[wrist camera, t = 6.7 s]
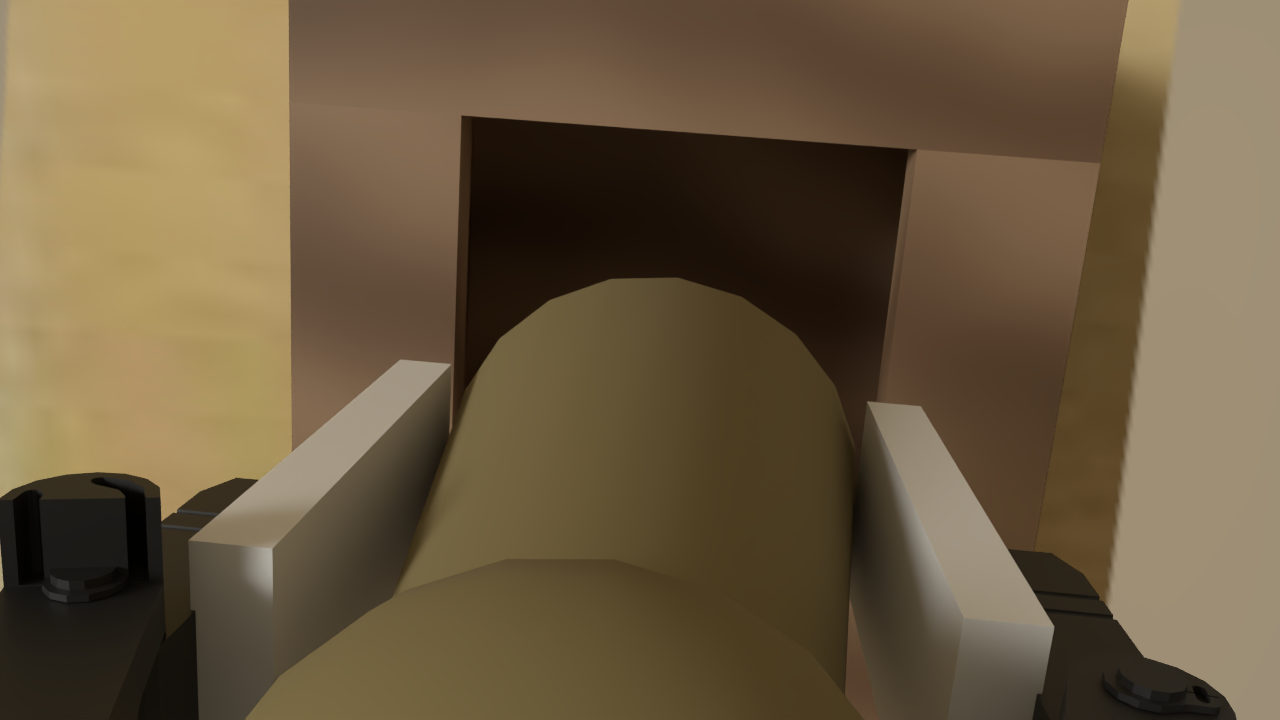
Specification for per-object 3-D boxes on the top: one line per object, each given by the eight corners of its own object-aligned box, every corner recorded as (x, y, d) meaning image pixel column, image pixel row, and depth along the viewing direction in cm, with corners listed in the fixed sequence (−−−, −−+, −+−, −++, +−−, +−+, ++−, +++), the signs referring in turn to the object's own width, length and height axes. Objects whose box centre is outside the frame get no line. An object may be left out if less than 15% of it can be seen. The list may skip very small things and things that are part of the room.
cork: (883, 634, 17) (1162, 1610, 6) (497, 685, 17) (130, 1638, 7) (823, 241, 15) (1045, 593, 5) (408, 314, 16) (-230, 769, 5)
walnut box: (907, 514, 37) (1002, 736, 24) (437, 470, 38) (293, 662, 25) (976, 16, 33) (1133, -29, 20) (450, -20, 34) (288, -84, 21)
